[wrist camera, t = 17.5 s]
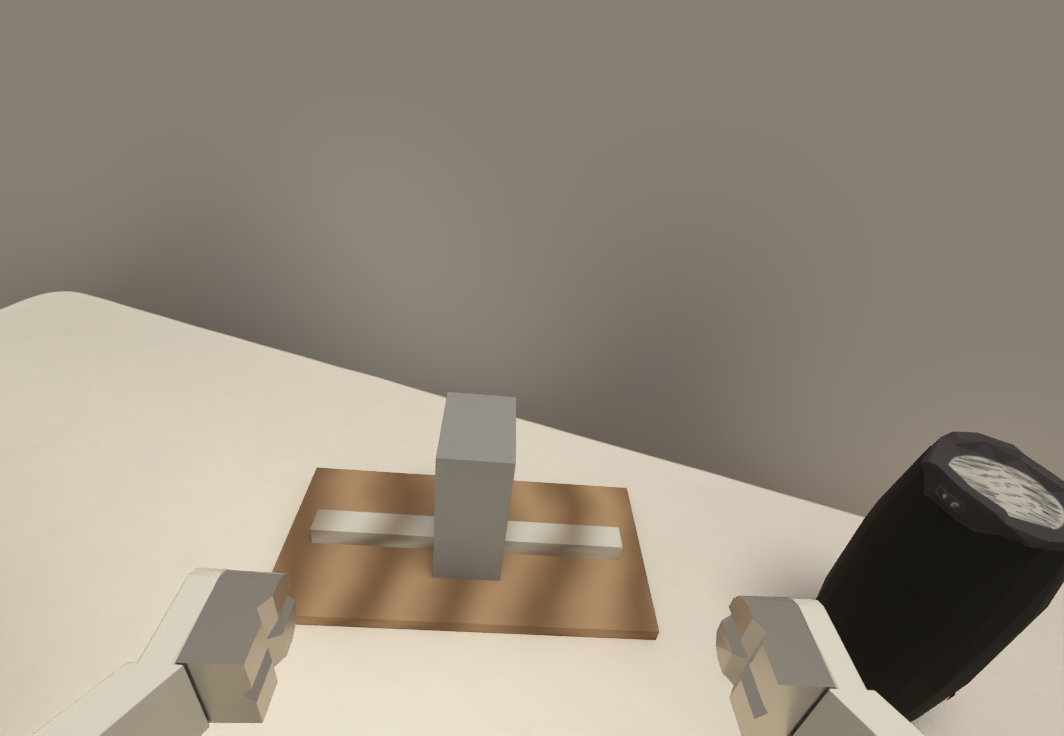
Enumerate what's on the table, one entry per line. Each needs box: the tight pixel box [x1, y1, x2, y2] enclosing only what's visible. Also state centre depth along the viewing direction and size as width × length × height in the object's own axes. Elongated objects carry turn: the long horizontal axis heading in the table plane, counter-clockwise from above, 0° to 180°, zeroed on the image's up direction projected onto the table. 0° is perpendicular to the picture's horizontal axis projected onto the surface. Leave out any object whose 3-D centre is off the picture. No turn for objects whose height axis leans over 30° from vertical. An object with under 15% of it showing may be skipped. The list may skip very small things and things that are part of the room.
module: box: [433, 392, 516, 581], centre depth 41 cm, size 5×7×12 cm
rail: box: [272, 468, 659, 640], centre depth 44 cm, size 28×14×2 cm, turn 91°
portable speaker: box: [816, 432, 1064, 722], centre depth 34 cm, size 9×9×20 cm
